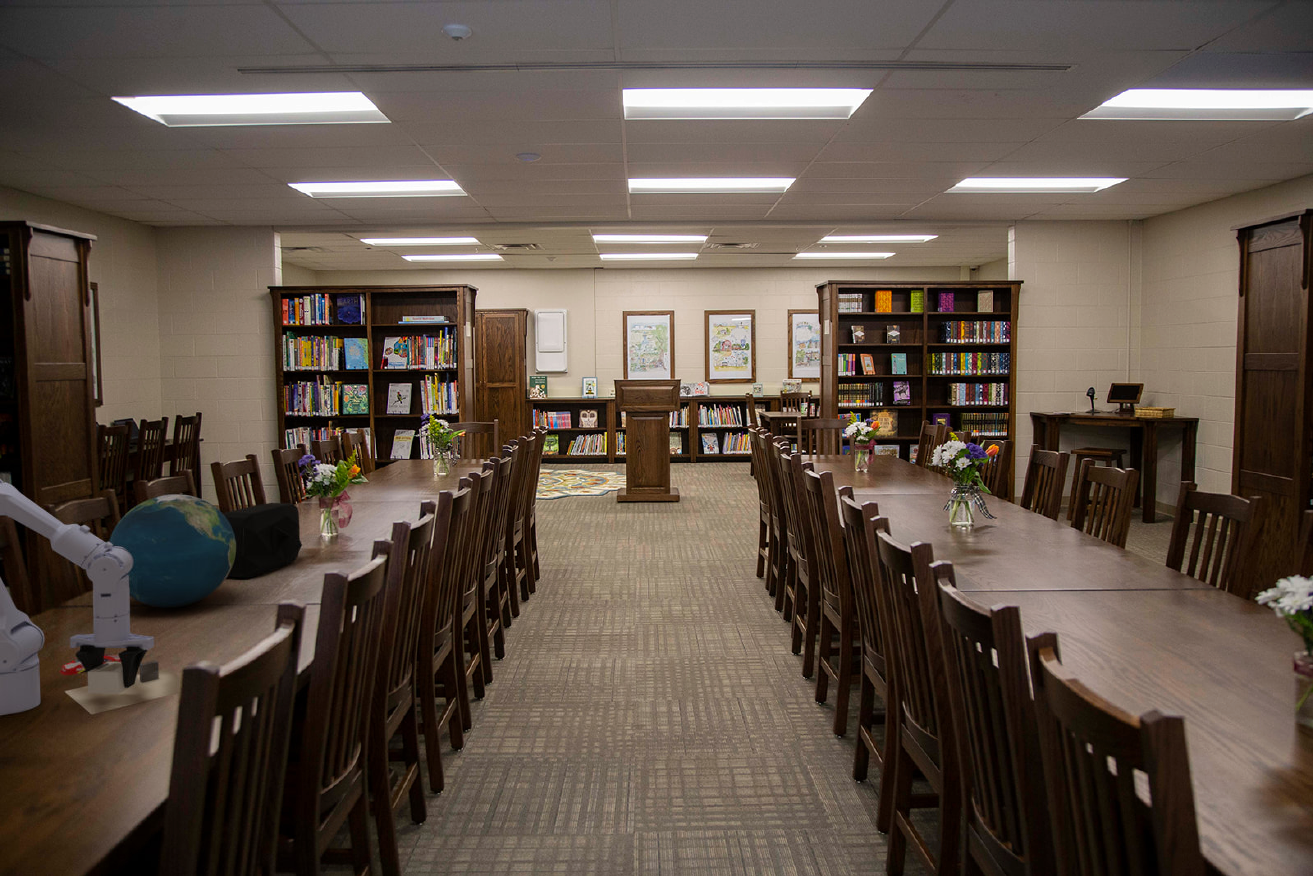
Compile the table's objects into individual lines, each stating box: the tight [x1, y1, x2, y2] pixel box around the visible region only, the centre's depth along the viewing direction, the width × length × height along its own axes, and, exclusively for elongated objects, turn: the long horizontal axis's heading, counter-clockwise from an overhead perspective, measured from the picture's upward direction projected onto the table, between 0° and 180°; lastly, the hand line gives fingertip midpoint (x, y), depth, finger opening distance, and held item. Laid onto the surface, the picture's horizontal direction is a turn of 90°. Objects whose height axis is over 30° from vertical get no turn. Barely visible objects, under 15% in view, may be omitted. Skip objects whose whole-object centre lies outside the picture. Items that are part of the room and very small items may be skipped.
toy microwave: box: [87, 662, 137, 694], centre depth 158 cm, size 6×6×4 cm
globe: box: [108, 493, 236, 609], centre depth 225 cm, size 30×30×30 cm
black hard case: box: [222, 502, 303, 579], centre depth 267 cm, size 30×12×20 cm, turn 171°
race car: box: [59, 653, 121, 676], centre depth 176 cm, size 13×5×4 cm, turn 140°
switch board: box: [64, 660, 182, 715], centre depth 163 cm, size 18×16×5 cm
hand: (113, 685), depth 158 cm, fingers closed on toy microwave, 6 cm apart
